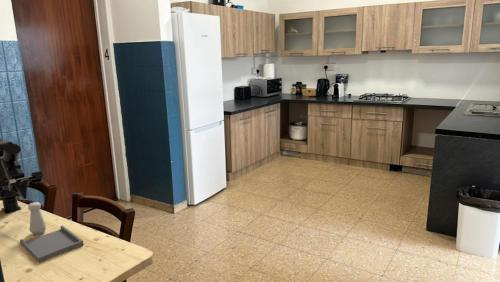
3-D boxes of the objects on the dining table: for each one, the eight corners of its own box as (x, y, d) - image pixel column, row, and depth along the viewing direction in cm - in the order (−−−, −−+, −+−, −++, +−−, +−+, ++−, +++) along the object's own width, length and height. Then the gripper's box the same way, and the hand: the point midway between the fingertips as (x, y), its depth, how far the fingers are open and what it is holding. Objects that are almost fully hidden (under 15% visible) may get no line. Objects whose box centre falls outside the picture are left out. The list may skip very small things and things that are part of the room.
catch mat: (20, 244, 139) (19, 239, 139) (63, 229, 150) (62, 225, 150) (39, 262, 127) (38, 258, 127) (83, 245, 138) (83, 240, 138)
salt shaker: (31, 231, 149) (26, 201, 146) (47, 228, 151) (42, 199, 148) (29, 238, 144) (24, 207, 140) (46, 234, 146) (41, 204, 143)
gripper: (33, 172, 167) (46, 200, 163) (-16, 183, 154) (-3, 214, 149) (37, 158, 160) (50, 188, 156) (-14, 169, 147) (-1, 201, 142)
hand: (25, 198), depth 151 cm, fingers closed
